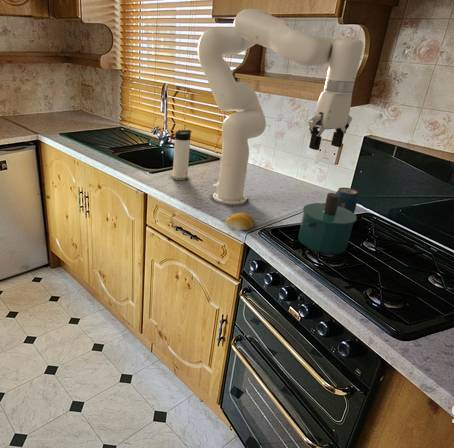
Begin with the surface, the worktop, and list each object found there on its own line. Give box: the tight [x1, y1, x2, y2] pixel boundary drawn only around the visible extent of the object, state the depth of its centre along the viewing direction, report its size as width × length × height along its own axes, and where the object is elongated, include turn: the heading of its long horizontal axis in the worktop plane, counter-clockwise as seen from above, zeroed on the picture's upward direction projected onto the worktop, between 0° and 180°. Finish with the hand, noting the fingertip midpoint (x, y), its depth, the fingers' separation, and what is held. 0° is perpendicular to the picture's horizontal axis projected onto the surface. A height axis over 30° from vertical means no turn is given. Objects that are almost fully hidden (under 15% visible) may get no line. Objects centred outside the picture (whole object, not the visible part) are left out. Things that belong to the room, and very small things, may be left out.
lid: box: [302, 192, 358, 225], centre depth 116 cm, size 15×15×7 cm
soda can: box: [335, 187, 359, 214], centre depth 132 cm, size 7×7×12 cm
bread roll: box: [225, 212, 255, 231], centre depth 129 cm, size 8×9×4 cm
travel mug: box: [171, 129, 193, 181], centre depth 166 cm, size 6×7×20 cm
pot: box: [298, 212, 355, 256], centre depth 119 cm, size 14×19×10 cm
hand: (325, 147), depth 120 cm, fingers open, 9 cm apart
